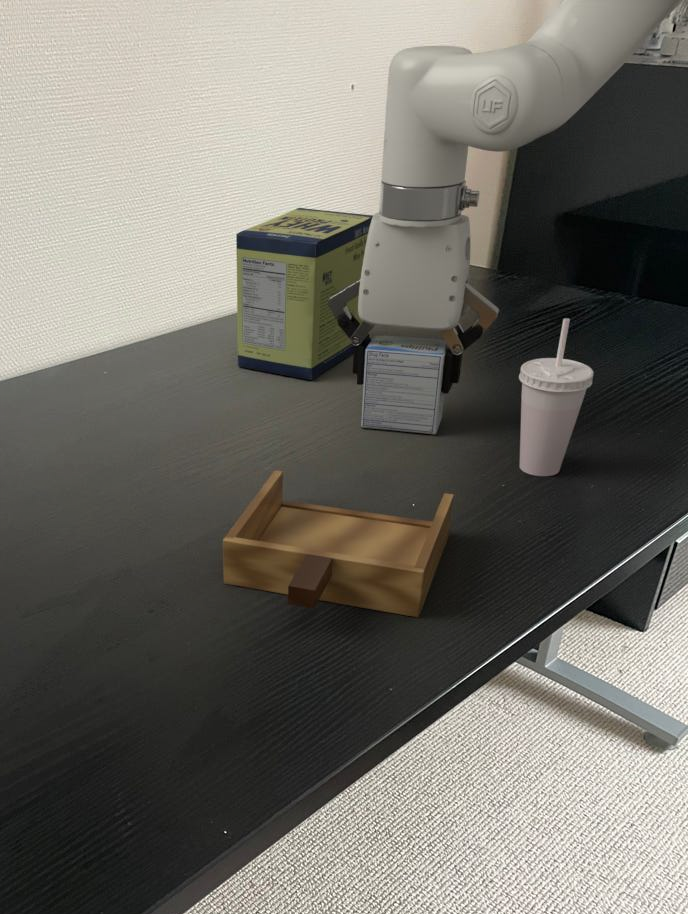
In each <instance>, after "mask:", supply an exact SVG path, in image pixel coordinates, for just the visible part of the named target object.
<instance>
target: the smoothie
mask: <svg viewBox="0 0 688 914" xmlns="http://www.w3.org/2000/svg"><path fill="white" fill-rule="evenodd" d="M570 322H571V319H570V318H569V317H568V318H567V317H565V318H563V319H562V325H561V330H560V336H559V341H558V348H557V353H556V357H542V358H534V359H531V360H528V361H526V362H523V364H522V365H521V366H520V370H519V372H520V373H519V374H518V380H519V381H520V383H521V397H520V398H521V402H520V403H521V405H520V435H519V437H520V438H519V439H520V440H519V466H518V467H519V470H521V471H522V472H523V473H526V474H527V475H531V476H534V477H551V476H554V475H558V473H560V470H561V467H562V464H563V461H564V458H565V455H566V452H567V449H568V446H569V443H570V440H571V438H572V435H573V431H574V429H575V425H576V423H577V419H578V417H579V413H580V411H581V407H582V404H583V402H584V398H585V395H586V392H587V389H588V388H591V386H592V385H593V378H594V370H593V369H592V367H590V366H589V365H587V364H584V363H583V362H579V361H577V360H572V359H568V358H564V354H565V349H566V342H567V339H568V333H569V326H570Z"/></svg>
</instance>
